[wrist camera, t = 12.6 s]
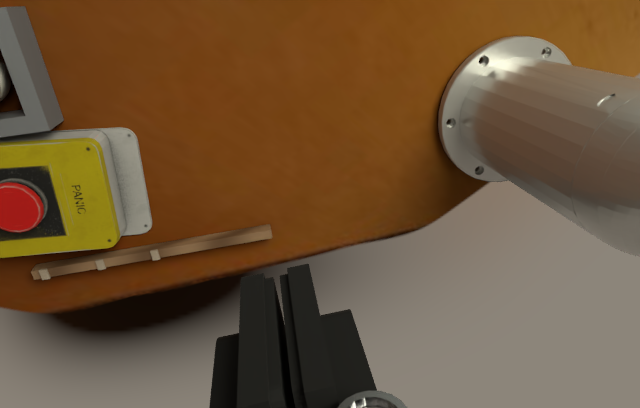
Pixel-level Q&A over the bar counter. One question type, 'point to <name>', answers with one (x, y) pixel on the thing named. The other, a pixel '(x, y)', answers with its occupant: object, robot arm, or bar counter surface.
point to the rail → (150, 252)
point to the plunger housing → (26, 77)
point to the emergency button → (70, 191)
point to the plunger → (4, 81)
